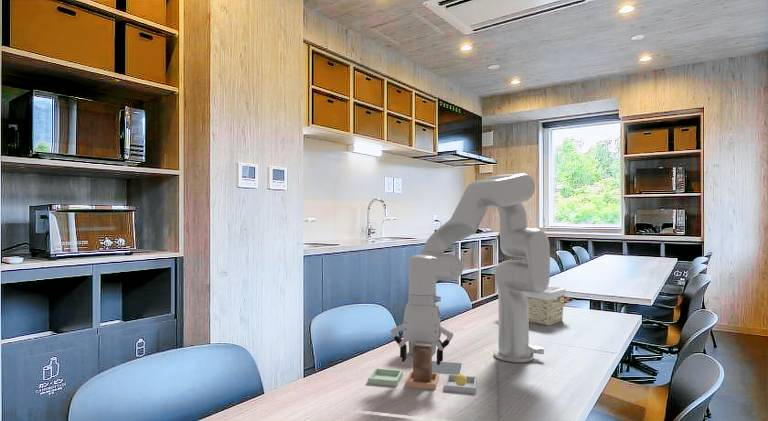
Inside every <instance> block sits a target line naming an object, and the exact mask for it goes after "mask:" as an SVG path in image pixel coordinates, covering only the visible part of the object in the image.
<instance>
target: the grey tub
mask: <svg viewBox="0 0 768 421" xmlns="http://www.w3.org/2000/svg"><path fill="white" fill-rule="evenodd" d="M456 376H457V375H453V374H446V377H445V380H444V385H443V386H444V387H443V391H444V392H453V393H455V392H456V393H465V394H466V393H467V394H474V395H475V394H477V393H476V392H477V386H478V385H477V384H478V376H476V375H475V376H474V375H465V376H466V378H467V383H466V384H465V385H464V386H458V385H457V384H456V382H455V377H456Z"/></svg>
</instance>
